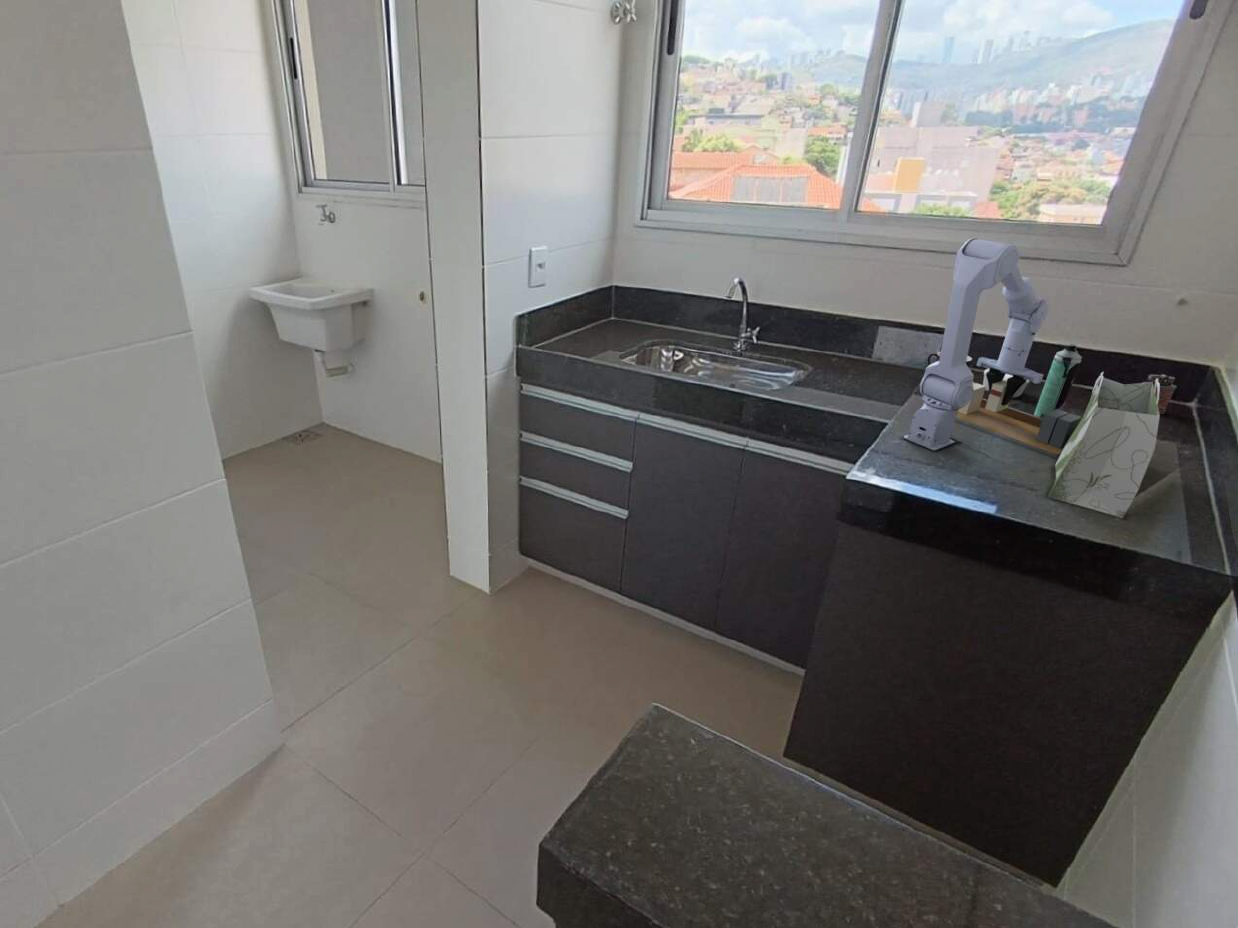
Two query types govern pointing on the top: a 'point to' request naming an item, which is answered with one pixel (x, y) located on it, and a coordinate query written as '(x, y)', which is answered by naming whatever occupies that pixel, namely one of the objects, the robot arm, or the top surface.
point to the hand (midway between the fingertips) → (998, 402)
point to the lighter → (1163, 390)
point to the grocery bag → (1109, 448)
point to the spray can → (1059, 381)
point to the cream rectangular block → (974, 400)
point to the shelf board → (1010, 425)
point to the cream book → (997, 397)
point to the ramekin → (1002, 380)
